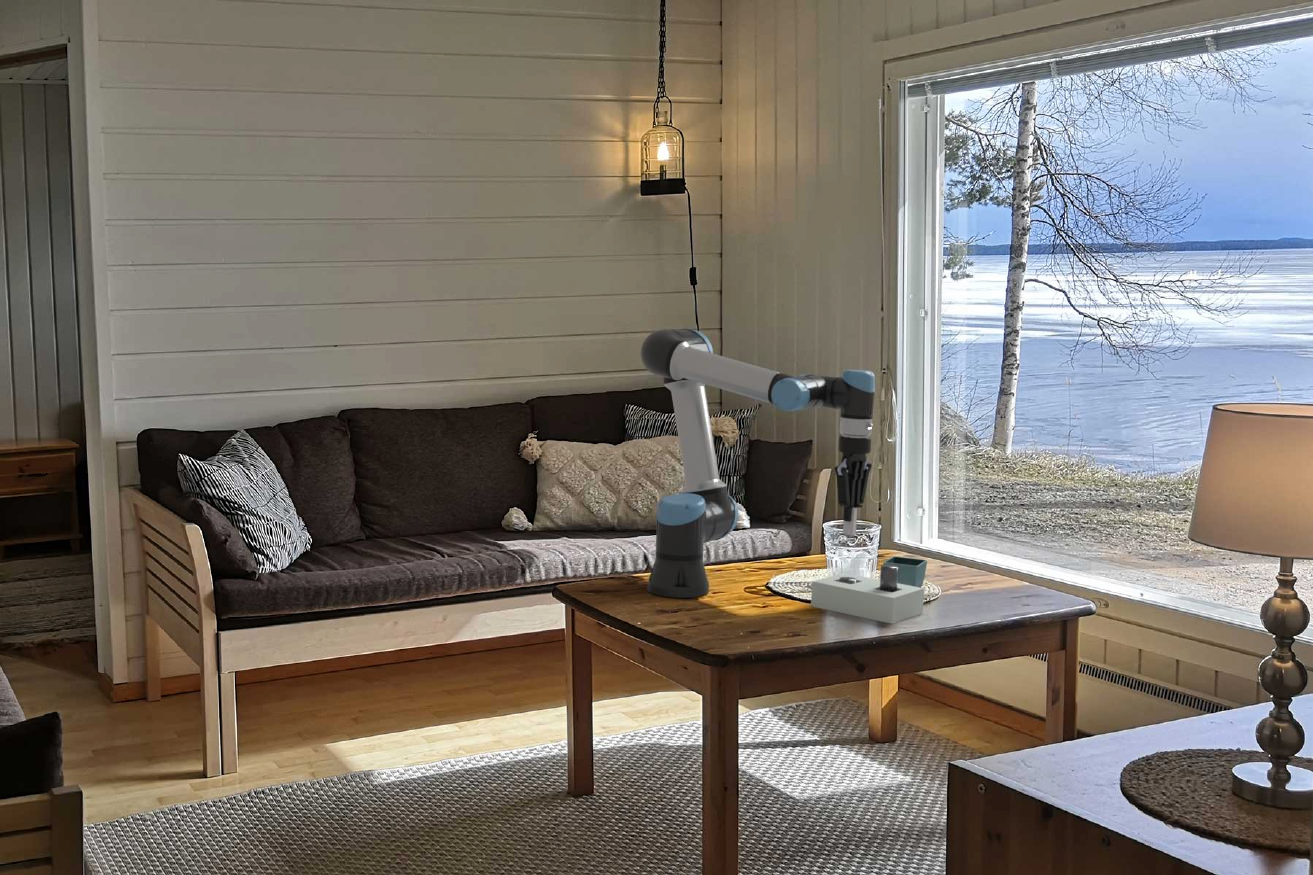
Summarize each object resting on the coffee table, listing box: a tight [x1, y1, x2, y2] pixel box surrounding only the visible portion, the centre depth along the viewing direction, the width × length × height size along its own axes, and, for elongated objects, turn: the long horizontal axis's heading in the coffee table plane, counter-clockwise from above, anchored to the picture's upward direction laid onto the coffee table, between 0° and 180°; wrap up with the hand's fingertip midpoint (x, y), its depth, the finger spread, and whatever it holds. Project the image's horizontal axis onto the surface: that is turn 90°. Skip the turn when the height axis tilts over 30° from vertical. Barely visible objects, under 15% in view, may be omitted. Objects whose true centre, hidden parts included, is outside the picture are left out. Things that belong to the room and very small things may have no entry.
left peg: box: [839, 577, 856, 584], centre depth 310 cm, size 4×4×6 cm
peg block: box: [810, 572, 925, 625], centre depth 307 cm, size 22×14×6 cm, turn 50°
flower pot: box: [882, 556, 928, 588], centre depth 322 cm, size 9×9×9 cm
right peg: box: [879, 564, 898, 592], centre depth 303 cm, size 4×4×6 cm
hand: (849, 534), depth 309 cm, fingers closed
